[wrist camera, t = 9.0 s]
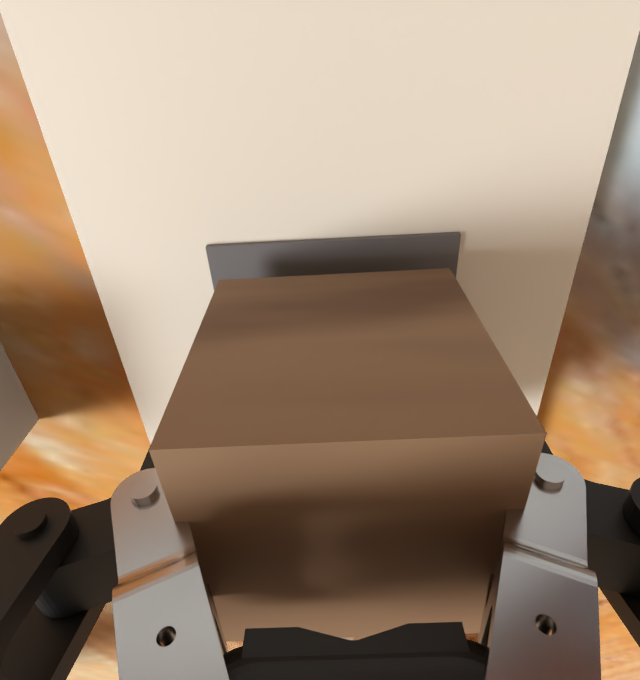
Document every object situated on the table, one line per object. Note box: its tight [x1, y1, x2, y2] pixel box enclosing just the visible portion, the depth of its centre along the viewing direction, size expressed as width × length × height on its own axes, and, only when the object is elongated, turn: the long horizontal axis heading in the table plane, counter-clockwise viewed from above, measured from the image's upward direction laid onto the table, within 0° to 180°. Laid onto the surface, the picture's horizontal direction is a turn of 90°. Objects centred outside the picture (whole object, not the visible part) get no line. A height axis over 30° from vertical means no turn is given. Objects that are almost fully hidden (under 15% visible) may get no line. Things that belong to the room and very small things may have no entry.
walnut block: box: [149, 268, 547, 641], centre depth 11 cm, size 6×6×6 cm
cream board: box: [0, 0, 640, 444], centre depth 15 cm, size 20×14×1 cm
